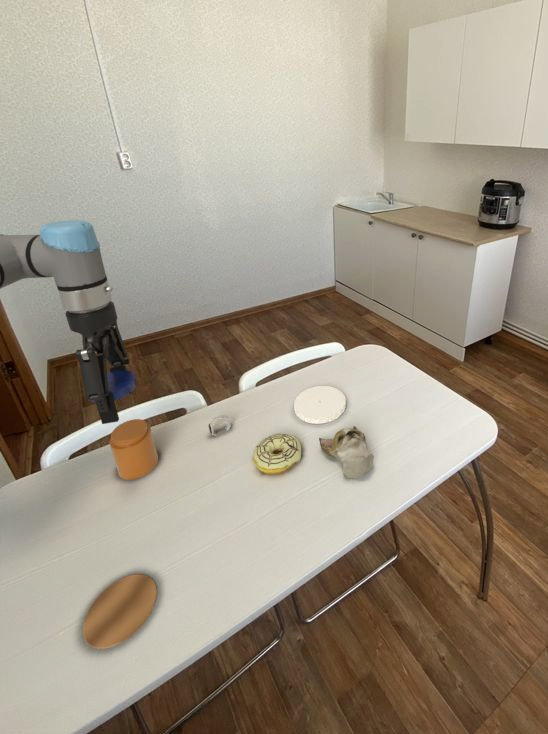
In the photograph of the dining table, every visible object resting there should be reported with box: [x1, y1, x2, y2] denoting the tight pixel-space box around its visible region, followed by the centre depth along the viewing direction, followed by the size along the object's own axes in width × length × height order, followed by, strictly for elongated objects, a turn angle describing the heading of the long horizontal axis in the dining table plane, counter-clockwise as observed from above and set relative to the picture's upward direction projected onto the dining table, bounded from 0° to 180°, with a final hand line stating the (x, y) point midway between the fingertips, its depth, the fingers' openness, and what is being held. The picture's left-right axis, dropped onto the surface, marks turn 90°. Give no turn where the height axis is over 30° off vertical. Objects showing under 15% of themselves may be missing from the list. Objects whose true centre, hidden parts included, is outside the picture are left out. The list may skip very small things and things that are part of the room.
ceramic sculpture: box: [318, 425, 375, 479], centre depth 87 cm, size 11×9×15 cm
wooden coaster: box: [82, 573, 158, 650], centre depth 60 cm, size 10×10×1 cm
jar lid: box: [91, 369, 138, 404], centre depth 76 cm, size 8×8×2 cm
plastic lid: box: [293, 385, 347, 425], centre depth 104 cm, size 14×14×2 cm
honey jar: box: [108, 418, 159, 481], centre depth 85 cm, size 8×8×11 cm
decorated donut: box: [252, 433, 302, 476], centre depth 88 cm, size 10×11×4 cm
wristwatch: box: [208, 414, 232, 437], centre depth 96 cm, size 3×5×5 cm, turn 127°
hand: (118, 406), depth 78 cm, fingers closed on jar lid, 8 cm apart
